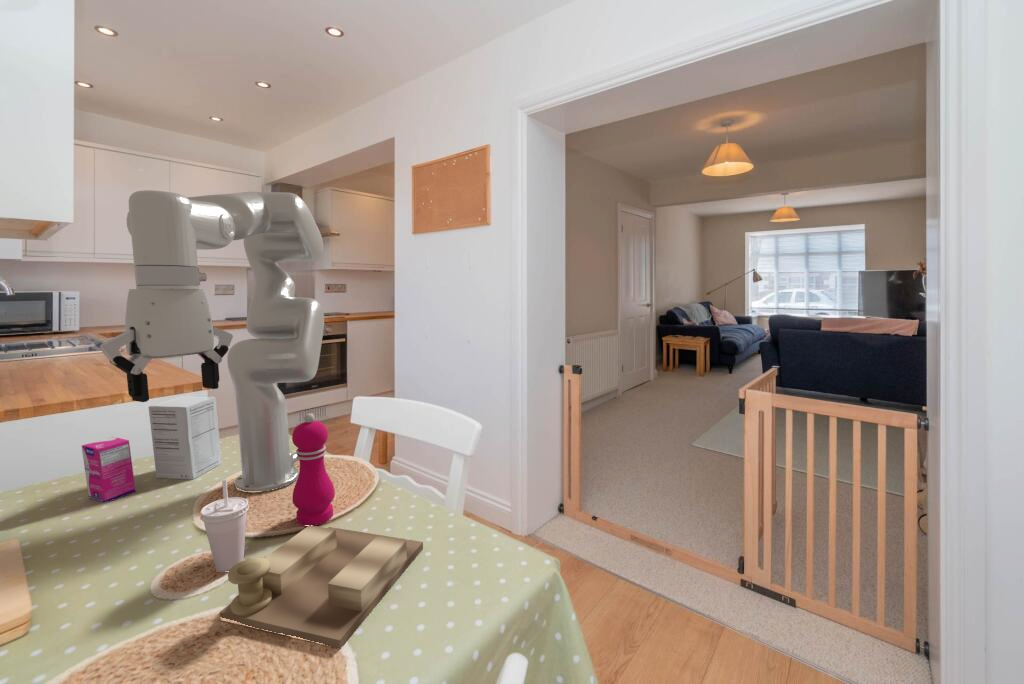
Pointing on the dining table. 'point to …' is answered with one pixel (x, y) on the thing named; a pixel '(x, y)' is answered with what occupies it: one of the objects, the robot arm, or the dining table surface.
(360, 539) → the notched board
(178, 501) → the dining table surface
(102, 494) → the supplement box
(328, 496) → the pepper mill
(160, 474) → the supplement box
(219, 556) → the smoothie
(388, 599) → the dining table surface
